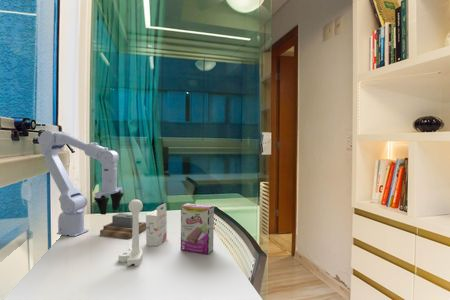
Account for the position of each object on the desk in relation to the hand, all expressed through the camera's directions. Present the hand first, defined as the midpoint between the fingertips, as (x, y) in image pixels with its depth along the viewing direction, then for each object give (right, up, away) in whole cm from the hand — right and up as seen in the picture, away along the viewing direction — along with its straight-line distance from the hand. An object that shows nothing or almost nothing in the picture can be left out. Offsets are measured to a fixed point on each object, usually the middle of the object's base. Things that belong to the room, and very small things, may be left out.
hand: (109, 212), depth 118 cm
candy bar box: (+38, -11, -16) cm, 42 cm away
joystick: (+17, -11, -24) cm, 31 cm away
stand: (+5, -9, +4) cm, 11 cm away
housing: (+5, -7, +4) cm, 10 cm away
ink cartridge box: (+21, -10, -8) cm, 25 cm away
